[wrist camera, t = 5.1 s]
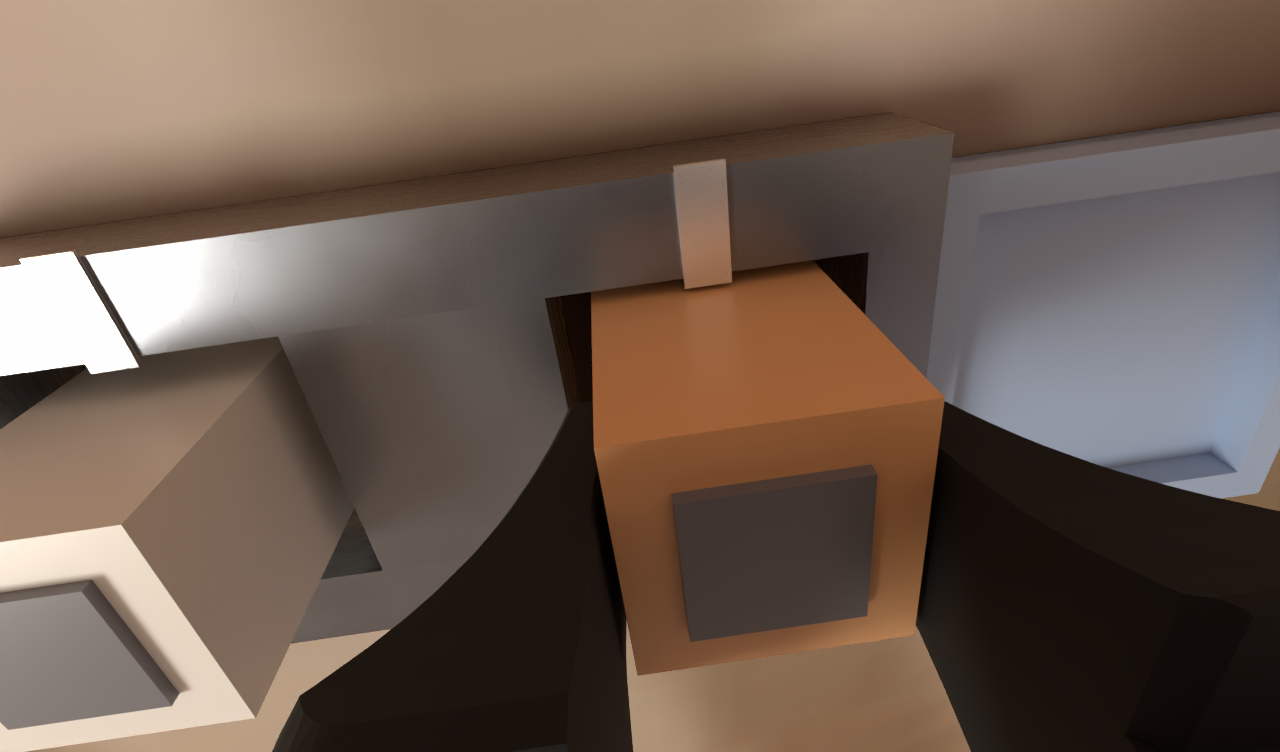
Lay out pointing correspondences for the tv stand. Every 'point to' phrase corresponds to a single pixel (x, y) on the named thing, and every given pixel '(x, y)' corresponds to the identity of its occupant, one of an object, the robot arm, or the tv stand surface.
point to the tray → (1121, 299)
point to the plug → (759, 467)
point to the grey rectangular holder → (469, 308)
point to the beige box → (159, 544)
